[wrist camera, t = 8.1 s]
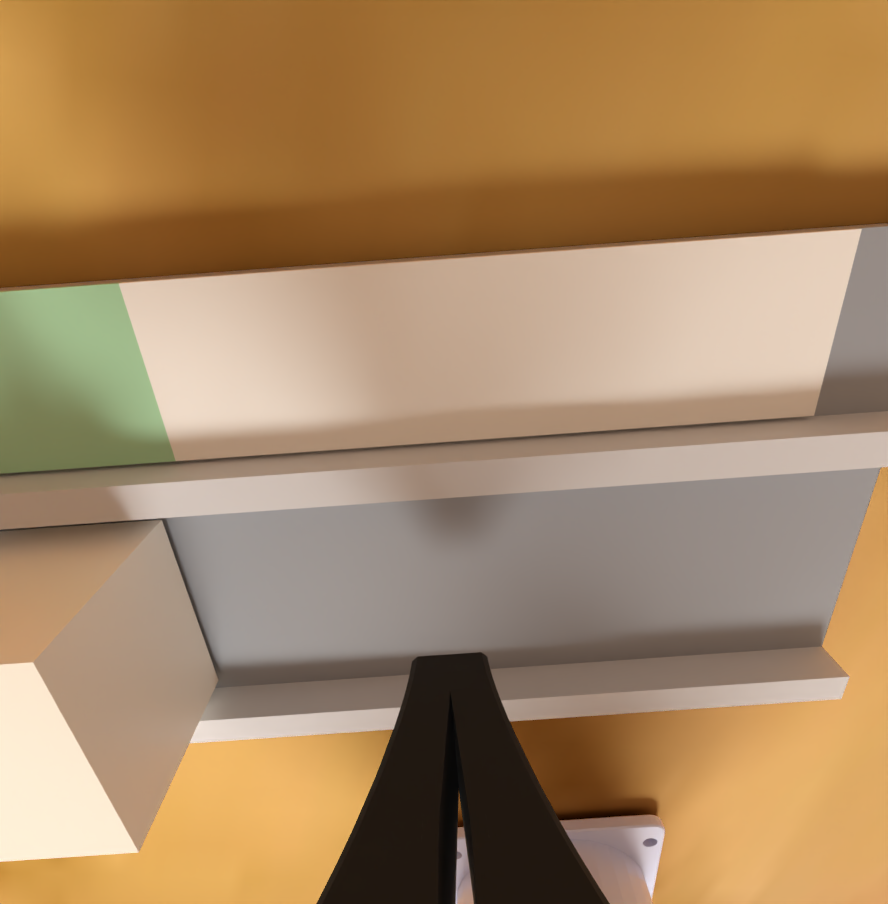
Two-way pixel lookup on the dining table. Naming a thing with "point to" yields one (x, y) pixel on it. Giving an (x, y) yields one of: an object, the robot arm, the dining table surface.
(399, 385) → the gauge board
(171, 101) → the dining table surface
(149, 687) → the gauge slider
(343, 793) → the dining table surface
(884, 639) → the dining table surface
